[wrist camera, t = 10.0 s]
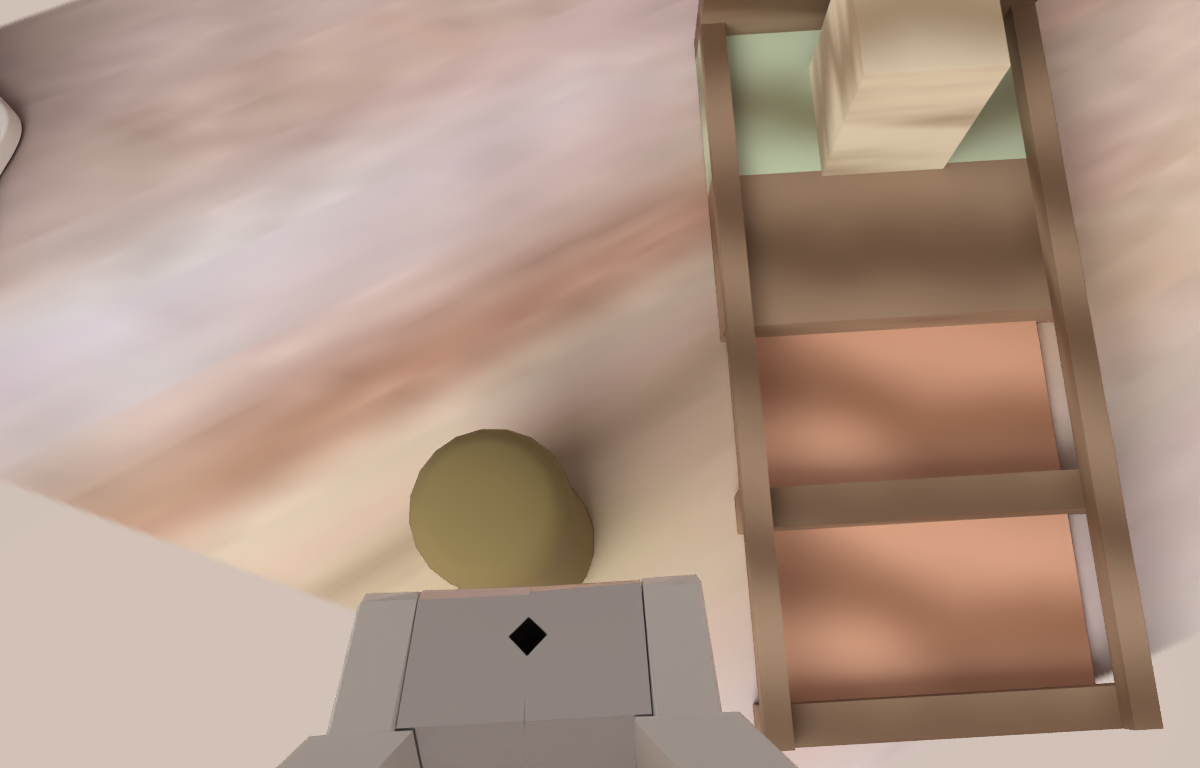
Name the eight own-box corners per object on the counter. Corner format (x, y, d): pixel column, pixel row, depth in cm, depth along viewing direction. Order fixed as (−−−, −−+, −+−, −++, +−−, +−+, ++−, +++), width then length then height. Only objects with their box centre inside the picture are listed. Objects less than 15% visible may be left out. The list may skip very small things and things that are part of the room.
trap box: (694, 42, 49) (703, -42, 43) (1006, 23, 49) (1059, -64, 43) (756, 745, 41) (778, 759, 35) (1125, 723, 41) (1208, 733, 35)
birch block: (809, 67, 46) (847, -53, 38) (927, 60, 46) (989, -62, 38) (821, 176, 45) (864, 74, 37) (943, 168, 45) (1010, 65, 37)
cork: (415, 574, 43) (348, 546, 32) (489, 441, 44) (447, 372, 34) (549, 646, 42) (525, 642, 32) (620, 509, 44) (620, 460, 33)
